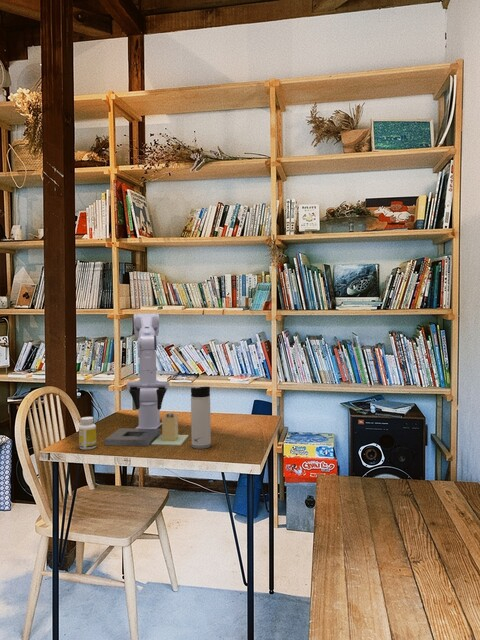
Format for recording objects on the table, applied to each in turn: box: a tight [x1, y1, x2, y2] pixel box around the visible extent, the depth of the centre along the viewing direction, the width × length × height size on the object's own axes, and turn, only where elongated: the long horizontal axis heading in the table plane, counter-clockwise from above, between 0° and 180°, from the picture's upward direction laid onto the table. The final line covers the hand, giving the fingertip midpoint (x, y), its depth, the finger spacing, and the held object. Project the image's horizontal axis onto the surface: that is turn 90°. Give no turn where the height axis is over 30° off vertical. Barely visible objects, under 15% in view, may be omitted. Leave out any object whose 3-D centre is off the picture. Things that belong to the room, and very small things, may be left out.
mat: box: [150, 434, 189, 447], centre depth 175 cm, size 12×10×1 cm
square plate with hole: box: [104, 427, 162, 447], centre depth 177 cm, size 15×15×2 cm
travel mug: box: [190, 386, 212, 450], centre depth 167 cm, size 6×7×20 cm
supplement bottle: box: [78, 416, 97, 451], centre depth 168 cm, size 5×5×10 cm
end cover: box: [161, 413, 179, 441], centre depth 175 cm, size 4×4×9 cm
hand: (148, 409), depth 177 cm, fingers open, 7 cm apart
